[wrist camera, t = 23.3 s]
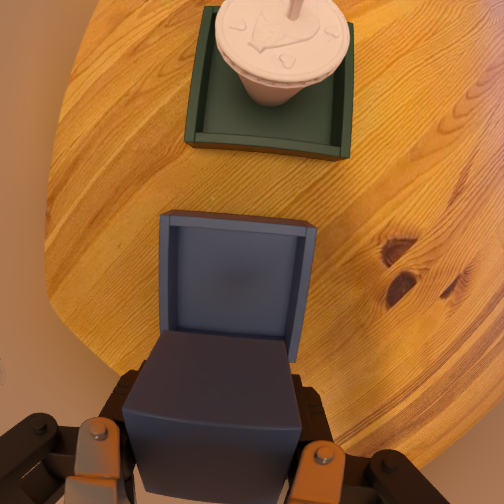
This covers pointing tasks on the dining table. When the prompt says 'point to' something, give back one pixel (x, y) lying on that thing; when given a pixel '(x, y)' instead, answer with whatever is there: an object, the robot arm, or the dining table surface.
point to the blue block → (214, 418)
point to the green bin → (267, 108)
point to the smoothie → (281, 44)
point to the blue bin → (235, 275)
